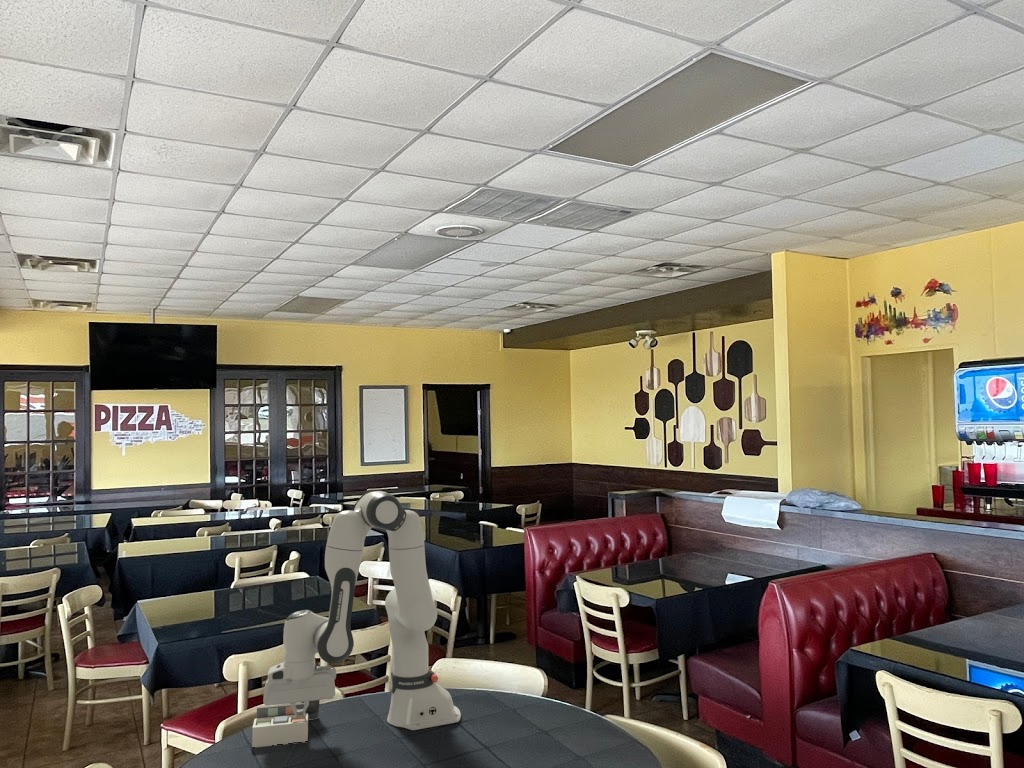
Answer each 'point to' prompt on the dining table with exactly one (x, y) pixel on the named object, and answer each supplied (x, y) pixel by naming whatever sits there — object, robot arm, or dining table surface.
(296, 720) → the key terracotta
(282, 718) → the key slate
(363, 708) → the dining table surface
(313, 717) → the beverage cup
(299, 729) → the keypad console
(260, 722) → the key sage
